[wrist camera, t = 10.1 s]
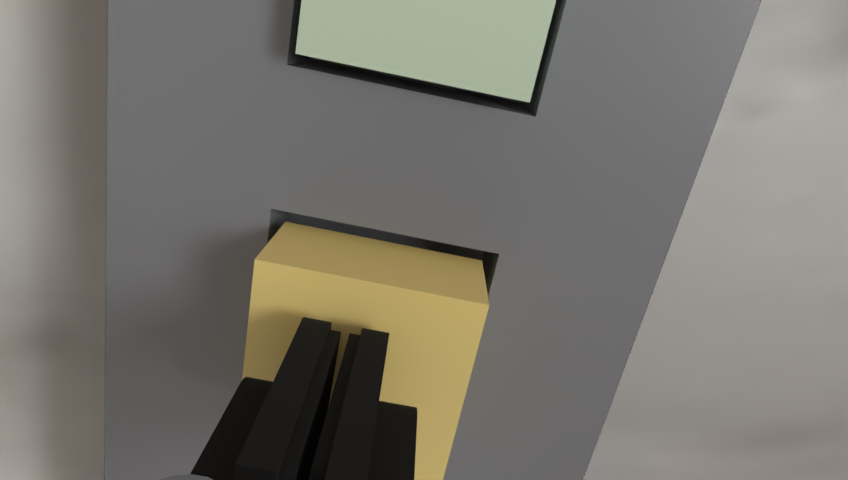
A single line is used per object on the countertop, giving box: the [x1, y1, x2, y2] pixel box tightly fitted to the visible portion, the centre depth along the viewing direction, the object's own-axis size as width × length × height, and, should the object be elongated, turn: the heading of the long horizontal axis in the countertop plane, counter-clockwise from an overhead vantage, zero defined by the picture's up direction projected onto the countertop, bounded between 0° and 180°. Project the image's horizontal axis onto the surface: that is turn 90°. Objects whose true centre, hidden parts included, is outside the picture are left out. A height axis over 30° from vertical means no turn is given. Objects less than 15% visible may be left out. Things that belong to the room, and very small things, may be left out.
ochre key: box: [242, 222, 489, 480], centre depth 12 cm, size 4×4×2 cm
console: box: [104, 0, 762, 480], centre depth 15 cm, size 12×24×4 cm, turn 169°
